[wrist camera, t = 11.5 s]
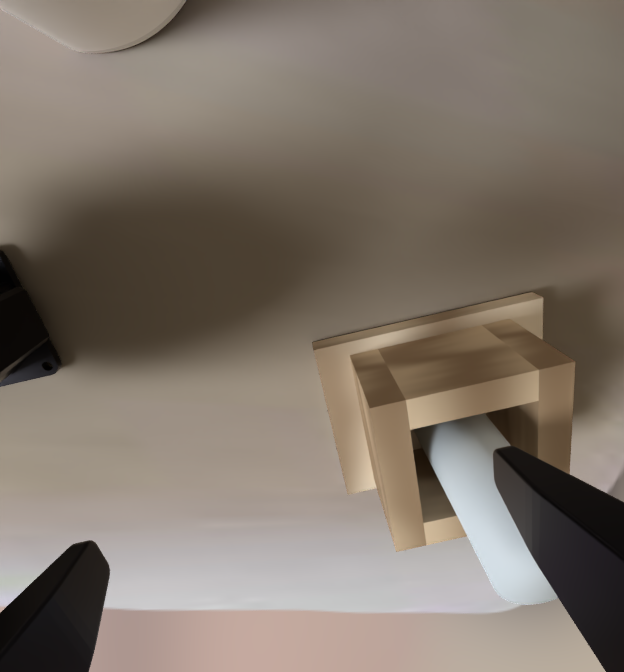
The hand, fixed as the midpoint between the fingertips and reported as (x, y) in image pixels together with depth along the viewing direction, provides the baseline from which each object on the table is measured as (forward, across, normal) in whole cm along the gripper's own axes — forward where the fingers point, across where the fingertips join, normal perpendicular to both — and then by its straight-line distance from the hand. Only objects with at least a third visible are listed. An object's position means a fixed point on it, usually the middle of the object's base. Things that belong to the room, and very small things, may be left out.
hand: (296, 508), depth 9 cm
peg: (+12, -7, +7) cm, 16 cm away
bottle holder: (+13, -7, +7) cm, 16 cm away
